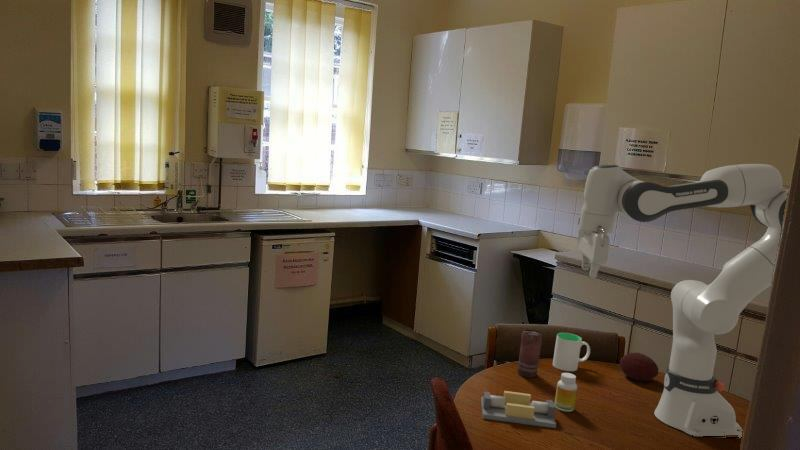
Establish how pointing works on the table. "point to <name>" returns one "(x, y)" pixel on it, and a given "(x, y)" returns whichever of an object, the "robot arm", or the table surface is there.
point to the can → (529, 353)
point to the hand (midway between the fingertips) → (588, 273)
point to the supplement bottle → (566, 392)
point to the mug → (568, 351)
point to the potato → (638, 366)
